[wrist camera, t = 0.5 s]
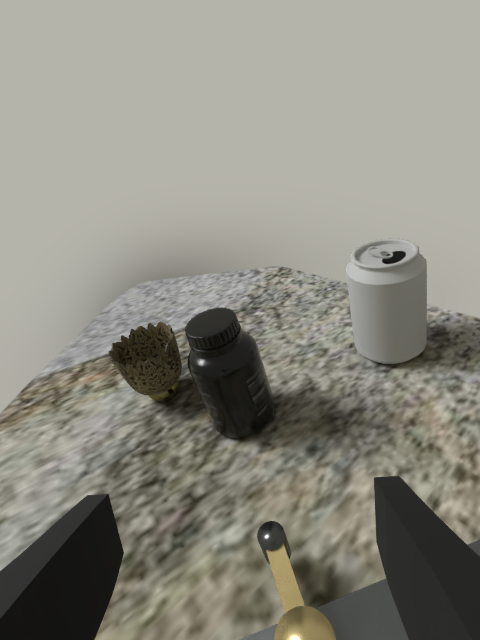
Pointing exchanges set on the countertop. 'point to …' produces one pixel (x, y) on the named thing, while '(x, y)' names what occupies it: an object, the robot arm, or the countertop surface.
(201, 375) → the supplement bottle
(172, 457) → the countertop surface
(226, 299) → the countertop surface
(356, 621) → the plate
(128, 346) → the cup
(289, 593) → the lever
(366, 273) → the can
